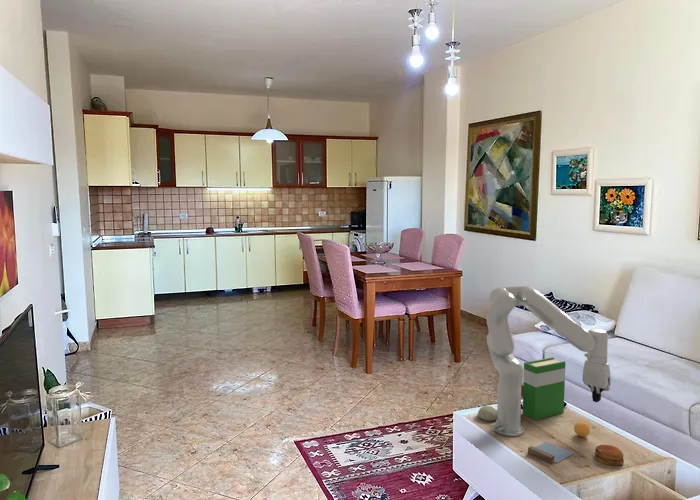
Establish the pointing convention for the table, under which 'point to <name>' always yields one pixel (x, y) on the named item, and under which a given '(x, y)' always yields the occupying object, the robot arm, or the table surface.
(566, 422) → the table surface
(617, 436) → the table surface
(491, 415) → the sea urchin shell
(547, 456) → the stopper wall
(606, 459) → the burger
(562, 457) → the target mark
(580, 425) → the ball
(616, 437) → the table surface
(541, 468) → the table surface
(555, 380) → the hardback book
